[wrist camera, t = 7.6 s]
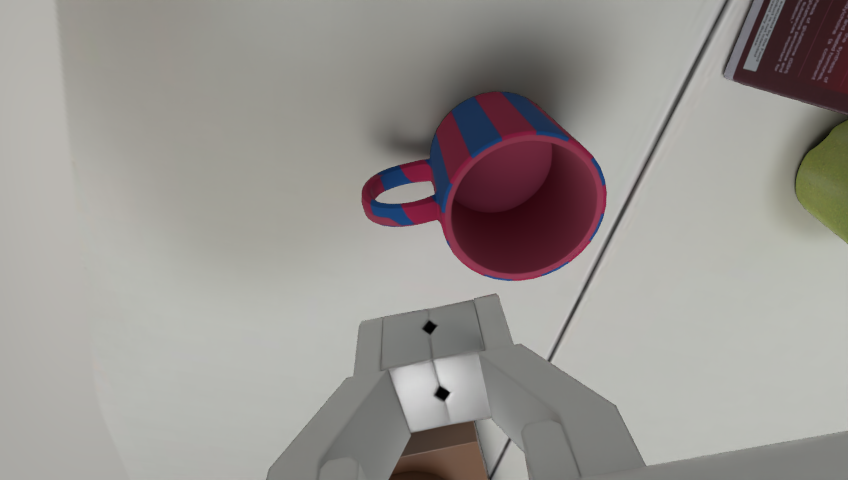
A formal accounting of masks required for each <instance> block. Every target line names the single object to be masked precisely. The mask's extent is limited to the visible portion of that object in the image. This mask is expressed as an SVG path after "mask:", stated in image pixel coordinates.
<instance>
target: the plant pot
mask: <svg viewBox="0 0 848 480" xmlns="http://www.w3.org/2000/svg"><path fill="white" fill-rule="evenodd" d="M796 194H797V198H798V200H799V202H800V203H801V204H802V205H803V207H804V208H805V209H806V210H807V211H808V212H809V213H811V214H812V215H813V216H814V217H815V218H817V219H818V220H819V221H820V222H822V223H823V224H824V225H825V226H826V227H828V228H829V229H830V230H831V231H833V232H834V233H835V234H836V235H838V236H839V237H840V238H841V239H843V240H844V241H845V242H846V243H847V244H848V120H847V121H844V122H843V123H841V124H839V125H838V126H836V127H834V128H833V129H832V131H831V132H830V134H829V135H828V136H827V137H826V139H825V140H823V141H822V142H821V143H820V144H819V145H818V146H816V147H815V148H814V149H812V150H810V151H809V152H808V153H807V155H806V156H805V158H804V160H803V161H802V163H801V166H800V168H799V171H798V173H797V178H796Z"/></svg>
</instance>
